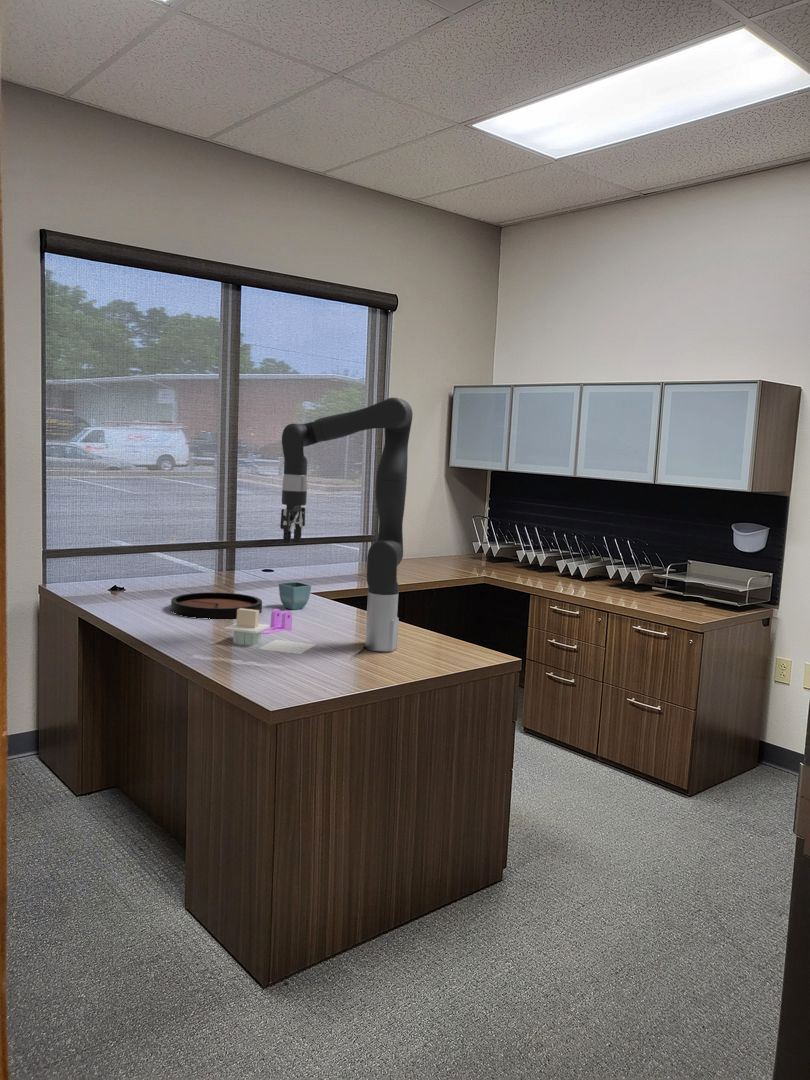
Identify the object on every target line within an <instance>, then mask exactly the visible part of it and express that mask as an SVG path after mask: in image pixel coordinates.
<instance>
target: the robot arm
mask: <svg viewBox="0 0 810 1080" xmlns="http://www.w3.org/2000/svg"><path fill="white" fill-rule="evenodd" d="M412 422H413V410H412V406H411V405H410V403H408V401H407V400H404V399H402V398H398V397H388V398H387V399H384V400H382V401H379V402H377V403H374V404H372V405H370V406H367V407H364V408H359V409H357V410H354V411H348V412H343V413H339V414H338V413H337V414H333V415H328V416H325V417H321V418H317V419H315V420H314V421H311V422H307V423H289V424H287V425H286V426H285V427H284V429H283V431H282V433H281V434H282V435H281V446H282V452H283V453H282V454H283V457H284V458H283V459H284V460H283V461H284V462H283V477H282V485H281V486H282V487H281V504H282V505H284V506H285V505H286V508H282V509H281V511H280V512H281V514H280V525H279V527H280V529H281V530H282V531H283V535H282V537H283V538H282V542H283V544H291V543H292V529H293V527H294V529H293V541H297V542H300V541H301V540H302V529H303V528H304V527H305V525H306V507H303V506H306V505H307V495H308V494H307V492H308V478H307V477H308V459H307V457H306V456H305V455H304V454H305V453H304V447H308V446H309V447H310V446H312V445H315V444H318V443H321V442H328V441H332V440H336V439H341V438H344V437H347V436H350V435H353V434H357V433H359V432H362V431H366V430H368V431H369V430H372V429H373V430H375V429H384V445H383V449H382V453H381V455H380V459H379V462H378V465H377V470H376V476H375V491H374V492H375V493H374V494H375V496H374V497H375V503H376V508H377V514H378V523H379V524H378V533H377V538H376V539H377V540H376V542H374V543H373V544H371V546H370V547H369V549H368V551H367V552H368V553H367V558H366V559H367V560H366V583H367V602H366V603H367V606H366V621H365V623H366V625H365V638H364V639H365V640H364V645H365V646H364V648H365V649H366V650H370V651H372V652H373V651H375V652H394V651H395V650H396V649H397V648H398V636H399V623H400V622H399V619H400V617H398V609H399V608H398V606H399V591H400V585H399V583H398V578H397V577H398V576H397V575H398V572H397V571H398V566H399V565H400V564H401V562H402V560H403V557H404V537H403V522H404V521H403V520H404V516H405V515H404V513H405V507H406V494H407V483H408V480H407V479H408V461H409V460H408V450H409V448H408V447H409V441H410V433H411V429H412Z"/></svg>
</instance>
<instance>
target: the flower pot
mask: <svg viewBox="0 0 810 1080" xmlns="http://www.w3.org/2000/svg"><path fill="white" fill-rule="evenodd" d="M278 590H279V591H278V594H279V598H280V601H281V604H282V605H283V607H284V608H285V609H289V610H292V609H294V610H301V609H300V608H303V609H304V608H305V606H306V605H307V604H308V601H309V599H310V595H311V590H312V585H311V584H306V583H303V582H299V581H294V582H293V581H292V582H281V583H280V582H279V583H278Z"/></svg>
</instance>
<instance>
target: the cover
mask: <svg viewBox="0 0 810 1080" xmlns="http://www.w3.org/2000/svg"><path fill="white" fill-rule="evenodd" d="M259 621H260V614H259V610H253V609H244V608H240V609H237V619H236V622H235V623H233V624H230V625H227V626H225V627H224V628H223V629H224V631H231V632H233V631H239V632H247V633H255V634H256V633H258V632H260V631H263V630H265V629H267V628H269V627H270V626H271V624H264V623H263V624H262V623H260V622H259ZM263 632H264V631H263Z"/></svg>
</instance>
